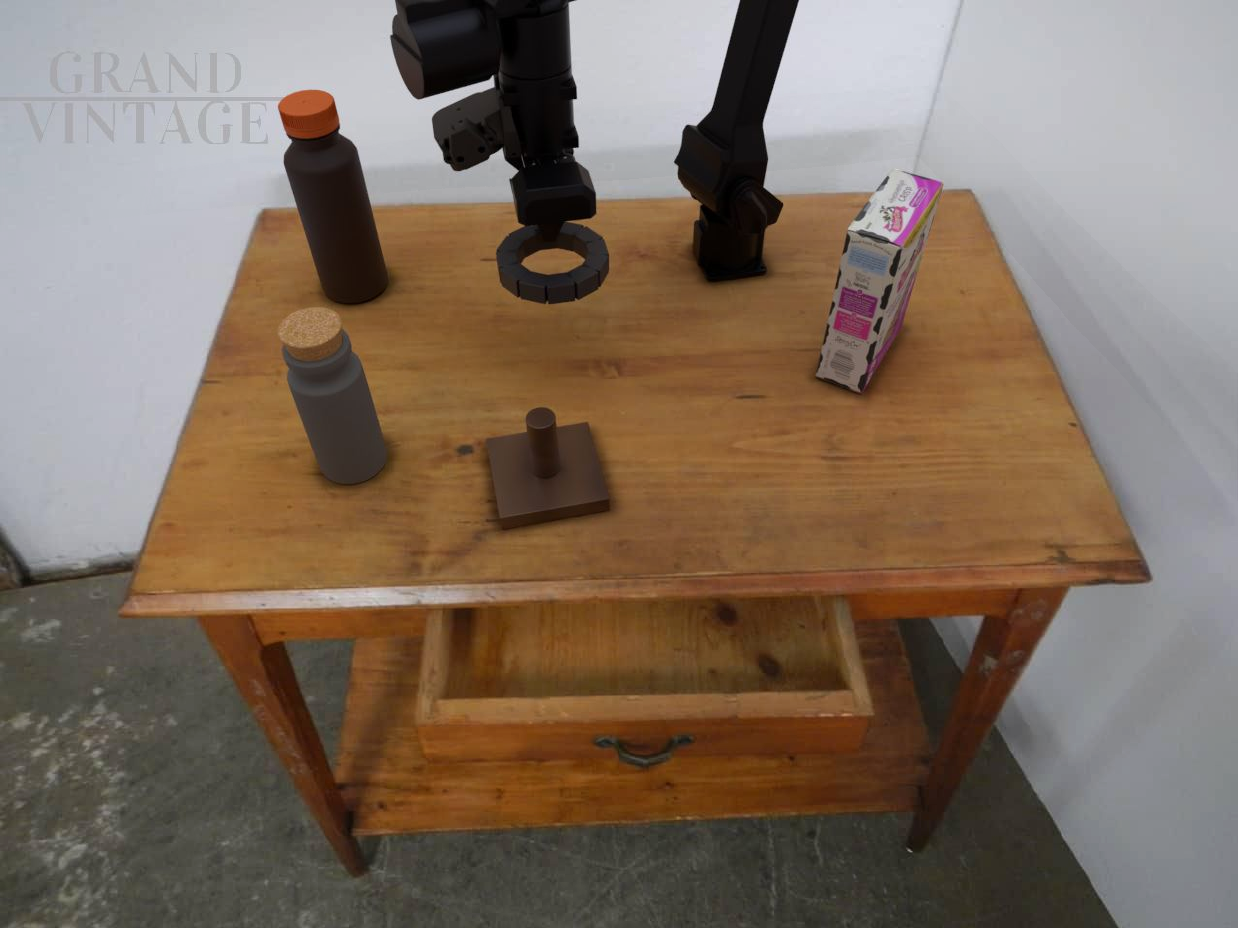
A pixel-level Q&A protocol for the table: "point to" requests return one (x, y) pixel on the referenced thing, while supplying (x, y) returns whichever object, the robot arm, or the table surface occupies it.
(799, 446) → the table surface
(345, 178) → the vinegar
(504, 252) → the ring
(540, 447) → the peg stand
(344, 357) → the bottle
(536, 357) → the table surface
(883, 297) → the candy bar box
